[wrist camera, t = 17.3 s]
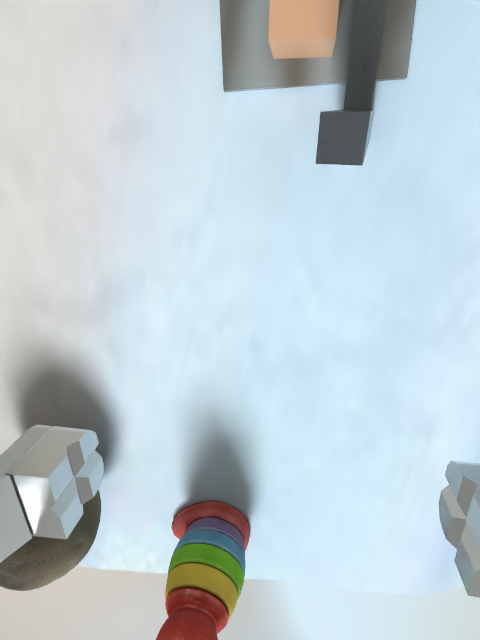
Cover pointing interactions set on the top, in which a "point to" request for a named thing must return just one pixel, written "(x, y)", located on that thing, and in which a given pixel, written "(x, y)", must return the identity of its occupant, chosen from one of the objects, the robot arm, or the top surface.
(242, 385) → the top surface
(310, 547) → the top surface
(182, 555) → the stacking bear
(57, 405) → the top surface
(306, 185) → the top surface
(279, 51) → the block
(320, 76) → the wooden tray
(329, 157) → the hook tool
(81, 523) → the cantaloupe
